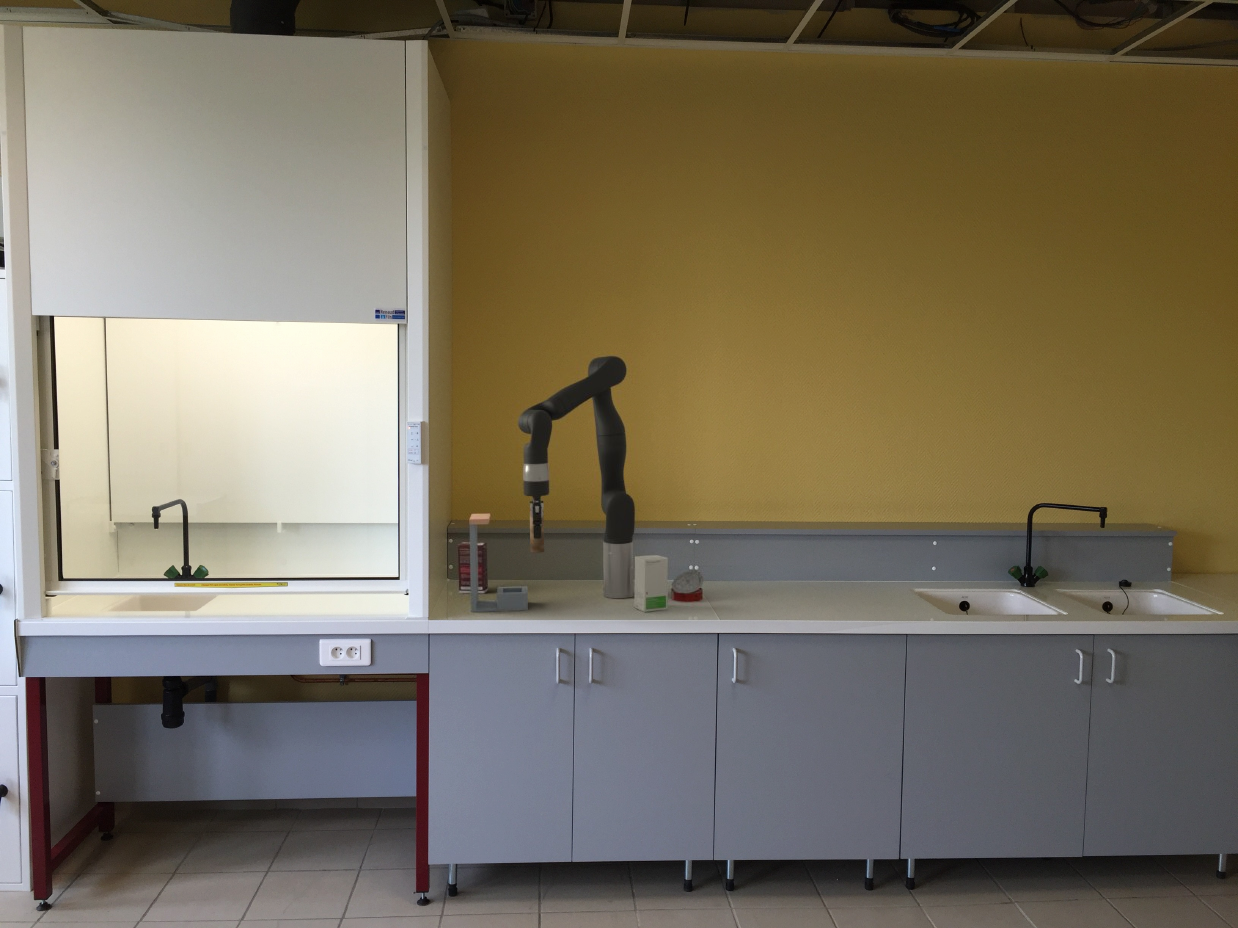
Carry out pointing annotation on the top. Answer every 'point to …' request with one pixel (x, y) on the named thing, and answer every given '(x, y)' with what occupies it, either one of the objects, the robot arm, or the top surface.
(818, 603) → the top surface
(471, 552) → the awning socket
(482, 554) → the supplement box
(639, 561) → the skincare box
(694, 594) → the canned food
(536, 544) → the peg
